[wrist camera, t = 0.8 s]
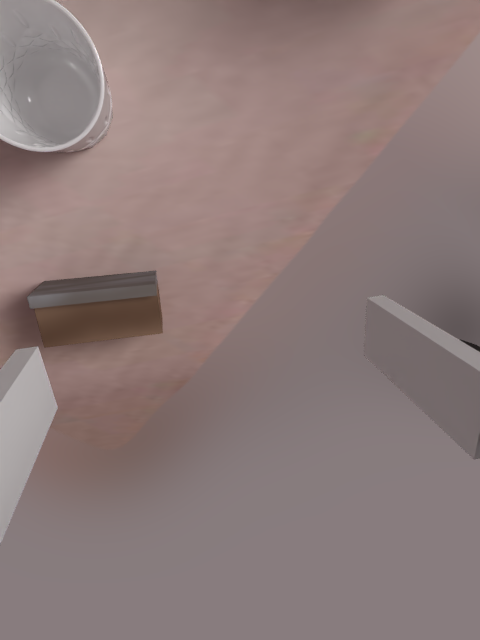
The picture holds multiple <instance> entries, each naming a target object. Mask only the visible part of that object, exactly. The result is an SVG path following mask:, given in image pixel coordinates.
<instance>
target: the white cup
mask: <svg viewBox="0 0 480 640" xmlns="http://www.w3.org/2000/svg"><path fill="white" fill-rule="evenodd" d="M112 119H113V112H112V98H111V93H110V88H109V85H108V81H107V78H106V75H105V72H104V69H103V67H102V64H101V61H100V58H99V55H98V52H97V50H96V48H95V46H94V43H93V42H92V40H91V38H90V36H89V35H88V33H87V32H86V30H85V29H84V27H83V26H82V25H81V24H80V22H79V21H78V20H77V19H76V18H75V17H74V16H73V15H72V14H71V13H70V12H69V11H68V10H67V9H66V8H64V7H63V6H62V5H61V4H59V3H58V2H56V1H55V0H0V139H1V140H3V141H4V142H6V143H8V144H10V145H13V146H15V147H18V148H21V149H25V150H29V151H35V152H60V153H62V152H75V151H80V150H83V149H87V148H92V147H93V146H95V145H96V144H97V143H98V142H99V141H100V140H101V139H103V138H104V137H105V136H106V135H107V132H108V129H109V127H110V124H111V121H112Z"/></svg>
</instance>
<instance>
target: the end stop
mask: <svg viewBox="0 0 480 640" xmlns="http://www.w3.org/2000/svg"><path fill="white" fill-rule="evenodd" d="M27 299H28V302H29V306H30V309H33V308H34V310H35V314H36V318H37V322H38V326H39V329H40V333H41V337H42V341H43V345H44V348H45V347H53V346H61V345H69V344H78V343H86V342H94V341H102V340H111V339H119V338H127V337H135V336H144V335H152V334H160V333H163V331H162V312H161V305H160V297H159V290H158V282H157V275H156V271H148V272H138V273H127V274H117V275H106V276H95V277H85V278H74V279H64V280H53V281H44V282H43V283H42V284H41V285H39V286H38V287H37V288H36V289H35V290H34V291H33V292H32V293H31V294H30V295H29V296H28V297H27Z"/></svg>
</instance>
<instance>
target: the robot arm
mask: <svg viewBox="0 0 480 640" xmlns="http://www.w3.org/2000/svg"><path fill="white" fill-rule="evenodd" d="M364 356H365V357H366V358H367V359H368V360H369V361H370V362H371V363H372V364H373V365H374V366H376V368H378V369H379V370H380V371H381V372H382V373H383V374H384V375H385V376H386V377H387V378H388V379H389V380H390V381H391V382H392V383H394V385H396V386H397V387H398V388H399V389H400V390H401V391H402V392H403V393H404V394H405V395H406V396H407V397H408V398H409V399H410V400H411V401H413V402H414V403H415V404H416V405H417V406H418V407H419V408H420V409H421V410H422V411H423V412H424V413H425V414H426V415H427V416H428V417H429V418H430V419H432V420H433V421H434V422H435V423H436V424H437V425H438V426H439V427H440V428H441V429H442V430H443V431H444V432H445V433H446V434H448V435H449V436H450V437H451V438H452V439H453V440H454V441H455V442H456V443H457V444H458V445H459V446H460V447H461V448H462V449H463V450H465V452H466V453H468V454H469V455H470V456H471V457H472V458H473V459H478V458H480V347H479V346H477V345H475V344H472V343H469V342H466V341H463V340H458V339H457V338H455V337H453V336H452V335H450V334H448V333H447V332H445V331H443V330H442V329H440V328H438V327H436V326H435V325H433V324H431V323H430V322H428V321H426V320H425V319H423V318H421V317H420V316H418V315H416V314H414V313H413V312H411V311H409V310H408V309H406V308H404V307H402V306H401V305H399V304H398V303H396V302H394V301H392V300H391V299H389V298H387V297H386V296H384V295H383V296H376V297H369V298H367V306H366V324H365V343H364ZM57 408H58V407H57V404H56V401H55V398H54V394H53V391H52V388H51V385H50V382H49V379H48V376H47V373H46V370H45V366H44V363H43V360H42V357H41V354H40V351H39V348H38V346H36V347H30V348H23V349H16V350H15V352H14V353H13V354H12V355H11V357H10V358H9V359H8V361H7V362H6V363H5V364H4V366H3V367H2V368H1V370H0V544H1V541H2V539H3V537H4V534H5V532H6V529H7V527H8V525H9V522H10V520H11V518H12V515H13V513H14V510H15V508H16V506H17V503H18V501H19V499H20V496H21V494H22V491H23V489H24V487H25V484H26V482H27V479H28V477H29V475H30V472H31V470H32V467H33V465H34V463H35V460H36V458H37V456H38V453H39V451H40V448H41V446H42V444H43V441H44V439H45V437H46V434H47V432H48V429H49V427H50V425H51V422H52V420H53V418H54V415H55V413H56V411H57Z"/></svg>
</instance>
